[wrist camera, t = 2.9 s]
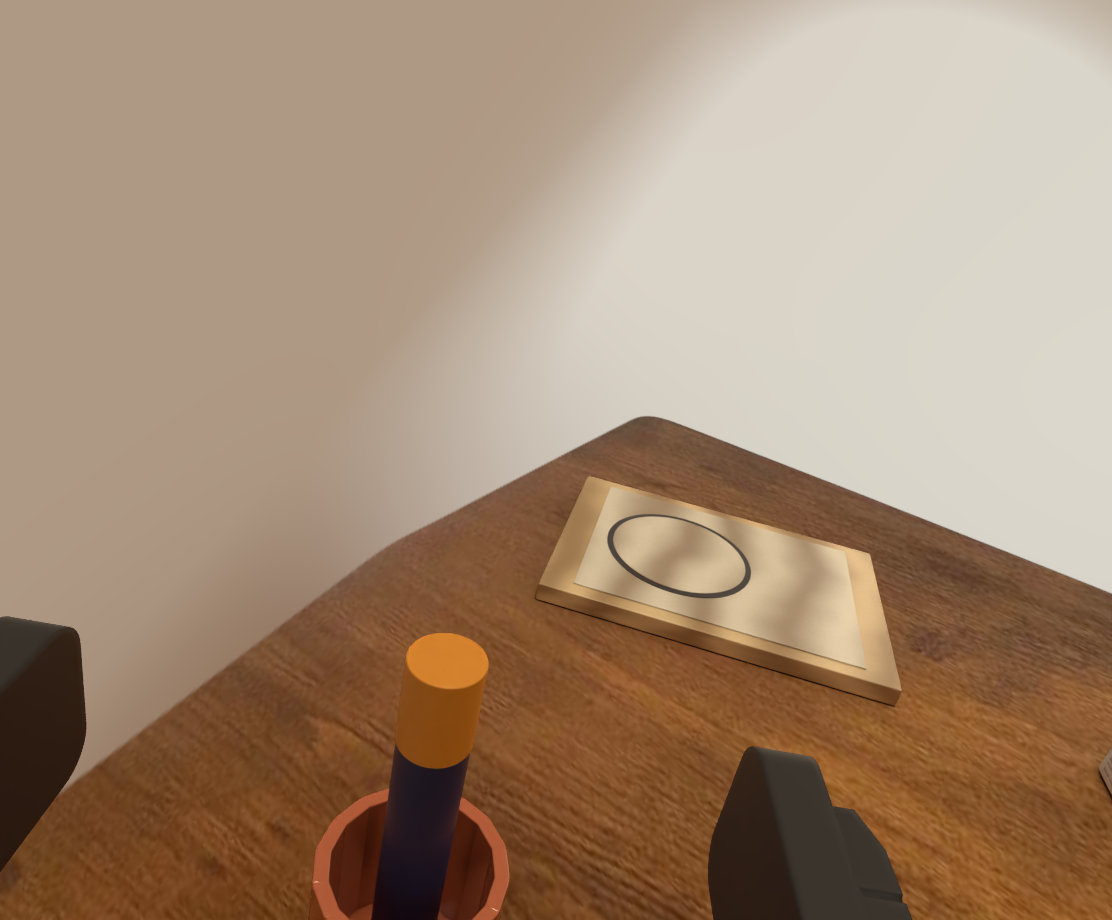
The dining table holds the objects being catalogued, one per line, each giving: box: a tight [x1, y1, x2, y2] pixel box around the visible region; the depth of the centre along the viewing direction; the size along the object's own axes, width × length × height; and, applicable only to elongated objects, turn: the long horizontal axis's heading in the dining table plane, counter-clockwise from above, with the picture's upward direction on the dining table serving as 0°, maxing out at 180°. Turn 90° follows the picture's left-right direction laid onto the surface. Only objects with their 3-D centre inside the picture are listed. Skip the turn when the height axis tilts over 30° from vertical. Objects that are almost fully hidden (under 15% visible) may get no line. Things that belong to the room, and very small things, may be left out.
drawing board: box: [536, 476, 902, 706], centre depth 56 cm, size 22×16×1 cm
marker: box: [371, 633, 489, 920], centre depth 26 cm, size 2×2×14 cm
